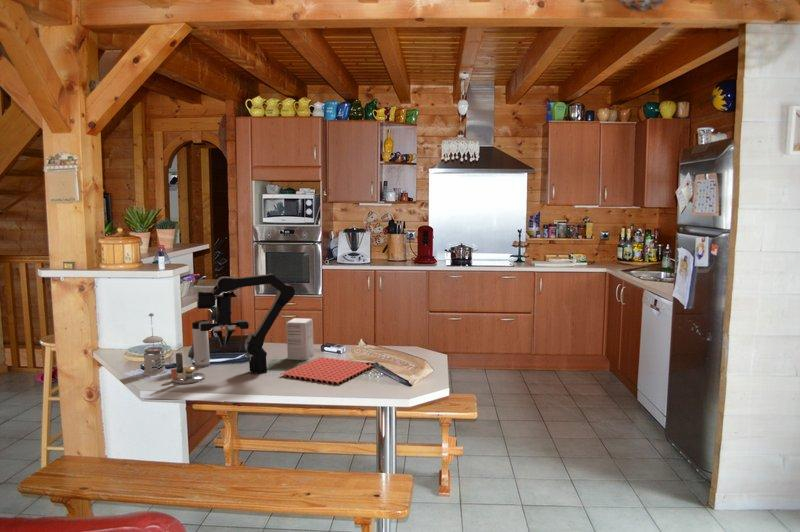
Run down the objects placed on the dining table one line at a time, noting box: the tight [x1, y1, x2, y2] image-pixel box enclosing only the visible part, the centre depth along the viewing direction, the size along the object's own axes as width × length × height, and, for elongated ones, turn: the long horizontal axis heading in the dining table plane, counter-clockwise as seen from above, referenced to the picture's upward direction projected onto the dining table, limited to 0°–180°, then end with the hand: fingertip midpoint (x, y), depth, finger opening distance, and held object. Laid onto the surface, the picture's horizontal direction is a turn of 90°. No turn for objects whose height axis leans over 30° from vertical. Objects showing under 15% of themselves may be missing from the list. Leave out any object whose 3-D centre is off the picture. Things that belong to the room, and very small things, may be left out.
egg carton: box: [280, 356, 372, 386], centre depth 247 cm, size 28×28×2 cm
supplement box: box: [285, 317, 315, 361], centre depth 271 cm, size 10×9×17 cm
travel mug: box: [191, 319, 211, 368], centre depth 260 cm, size 6×7×20 cm
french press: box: [142, 312, 168, 377], centre depth 252 cm, size 10×12×25 cm
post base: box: [170, 367, 206, 385], centre depth 241 cm, size 12×12×5 cm
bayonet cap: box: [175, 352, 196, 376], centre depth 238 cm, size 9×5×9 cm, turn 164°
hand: (223, 346), depth 244 cm, fingers closed
